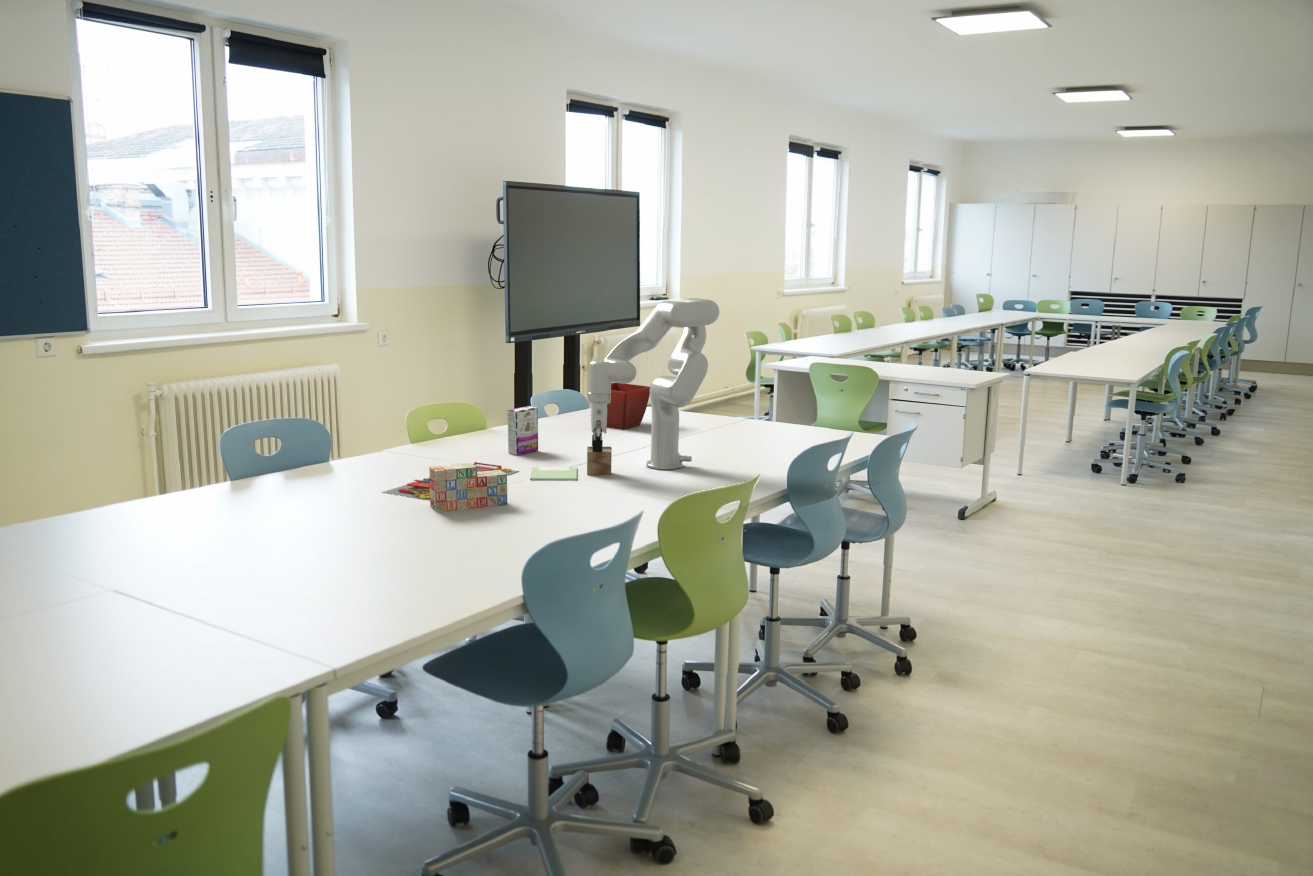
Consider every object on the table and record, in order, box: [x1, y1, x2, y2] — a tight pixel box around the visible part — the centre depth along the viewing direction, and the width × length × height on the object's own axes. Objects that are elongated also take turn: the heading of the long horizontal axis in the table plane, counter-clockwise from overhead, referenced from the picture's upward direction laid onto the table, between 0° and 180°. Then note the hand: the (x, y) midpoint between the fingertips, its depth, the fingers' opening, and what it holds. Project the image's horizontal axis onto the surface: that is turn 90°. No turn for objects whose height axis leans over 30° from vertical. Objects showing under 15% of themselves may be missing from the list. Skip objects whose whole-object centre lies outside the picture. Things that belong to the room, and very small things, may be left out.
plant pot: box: [607, 382, 650, 430], centre depth 415 cm, size 19×19×17 cm
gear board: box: [381, 461, 520, 502], centre depth 314 cm, size 45×2×19 cm
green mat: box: [529, 466, 578, 481], centre depth 327 cm, size 15×16×1 cm
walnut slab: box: [586, 445, 613, 476], centre depth 328 cm, size 8×4×9 cm, turn 95°
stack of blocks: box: [428, 462, 508, 513], centre depth 285 cm, size 21×6×12 cm, turn 118°
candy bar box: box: [507, 405, 539, 456], centre depth 358 cm, size 11×5×16 cm, turn 143°
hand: (596, 449), depth 327 cm, fingers open, 9 cm apart
